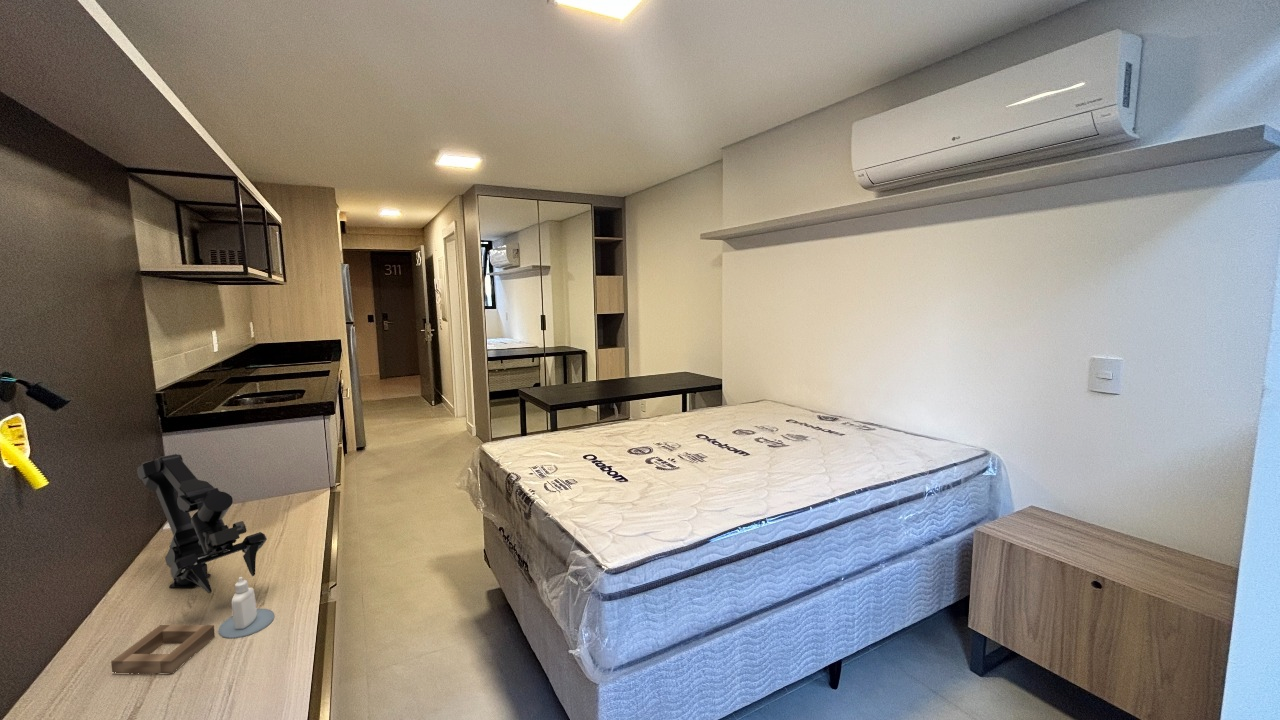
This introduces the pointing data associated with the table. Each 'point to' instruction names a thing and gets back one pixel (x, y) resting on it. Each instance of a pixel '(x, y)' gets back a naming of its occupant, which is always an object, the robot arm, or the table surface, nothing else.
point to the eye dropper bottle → (243, 605)
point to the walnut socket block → (146, 663)
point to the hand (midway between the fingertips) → (232, 583)
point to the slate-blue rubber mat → (257, 625)
